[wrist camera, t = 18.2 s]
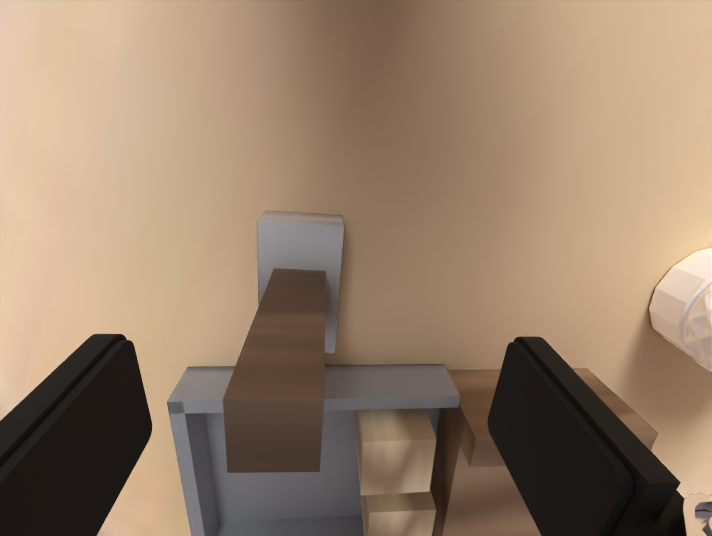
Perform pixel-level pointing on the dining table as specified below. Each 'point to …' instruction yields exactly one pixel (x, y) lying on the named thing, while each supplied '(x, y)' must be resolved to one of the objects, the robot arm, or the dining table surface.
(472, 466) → the slot block
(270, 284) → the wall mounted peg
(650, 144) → the dining table surface
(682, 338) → the white cup
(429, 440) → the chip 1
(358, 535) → the tray
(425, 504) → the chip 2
